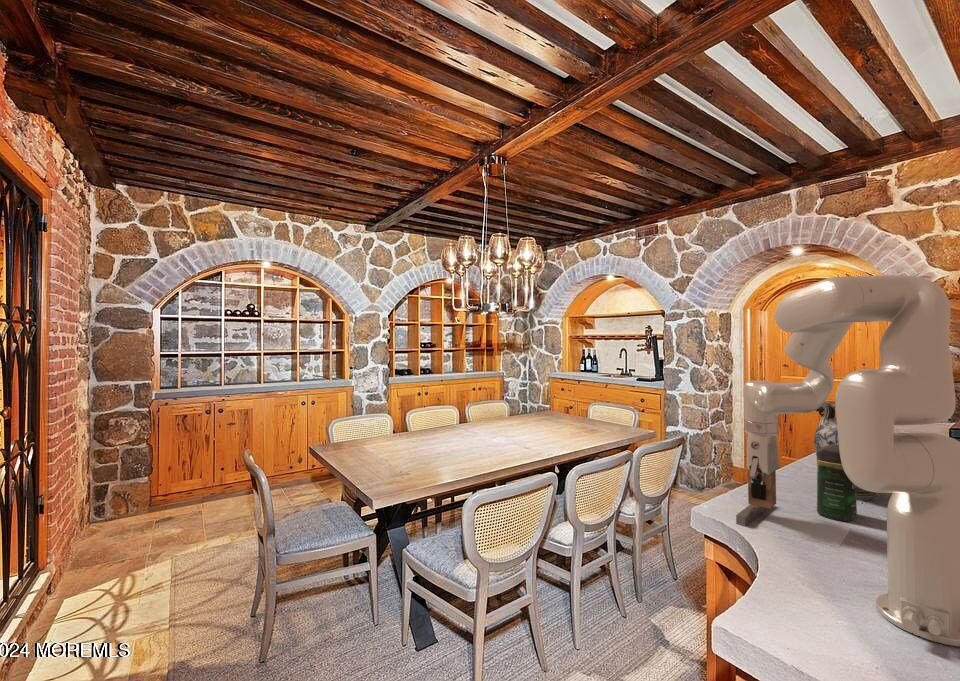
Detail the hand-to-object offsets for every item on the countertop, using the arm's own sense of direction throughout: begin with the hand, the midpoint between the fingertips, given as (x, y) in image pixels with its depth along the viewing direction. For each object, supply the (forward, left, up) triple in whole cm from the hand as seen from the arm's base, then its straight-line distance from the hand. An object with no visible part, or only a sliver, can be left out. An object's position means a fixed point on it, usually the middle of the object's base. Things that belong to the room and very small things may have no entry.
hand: (762, 495), depth 115 cm
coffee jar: (+15, -13, -6) cm, 21 cm away
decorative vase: (+38, -13, -6) cm, 41 cm away
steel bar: (0, +2, -6) cm, 6 cm away
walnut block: (0, 0, -2) cm, 2 cm away
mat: (0, -9, -6) cm, 11 cm away
